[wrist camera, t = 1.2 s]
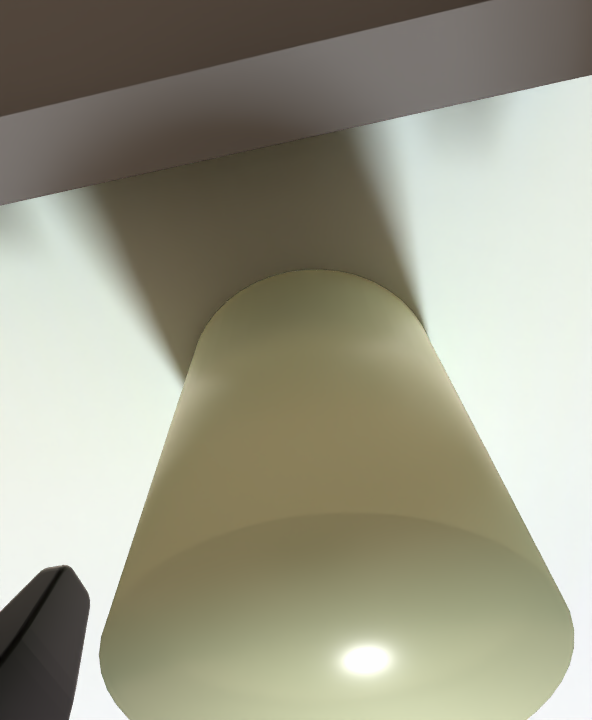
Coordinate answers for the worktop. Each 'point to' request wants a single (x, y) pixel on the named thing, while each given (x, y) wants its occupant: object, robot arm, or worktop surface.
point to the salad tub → (329, 532)
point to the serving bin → (249, 75)
